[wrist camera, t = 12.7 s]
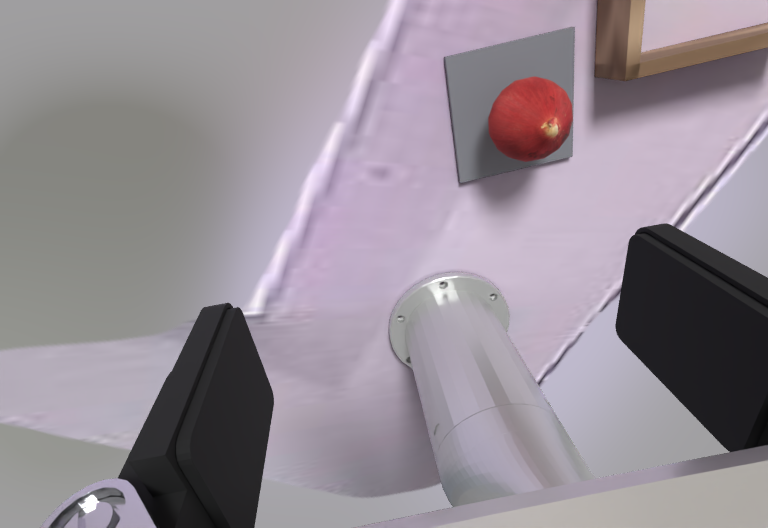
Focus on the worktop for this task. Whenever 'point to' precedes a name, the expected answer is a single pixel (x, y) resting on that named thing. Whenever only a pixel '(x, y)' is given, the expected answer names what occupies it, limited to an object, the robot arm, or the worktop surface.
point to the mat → (484, 84)
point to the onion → (530, 119)
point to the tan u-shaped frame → (626, 62)
